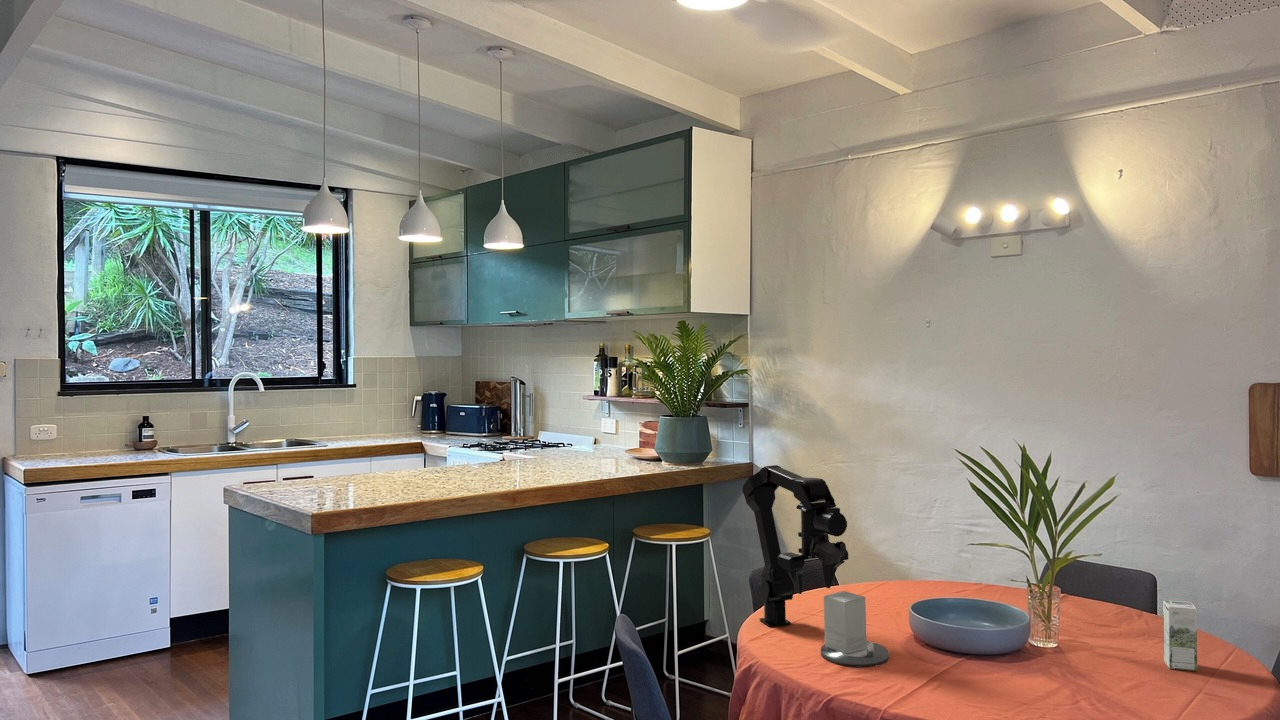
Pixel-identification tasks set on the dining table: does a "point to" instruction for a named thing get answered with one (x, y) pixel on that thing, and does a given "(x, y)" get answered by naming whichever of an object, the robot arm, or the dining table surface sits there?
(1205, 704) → the dining table surface
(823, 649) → the base plate
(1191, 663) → the syrup box
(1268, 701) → the dining table surface
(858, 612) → the supplement box
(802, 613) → the dining table surface
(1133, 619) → the dining table surface
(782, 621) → the robot arm
